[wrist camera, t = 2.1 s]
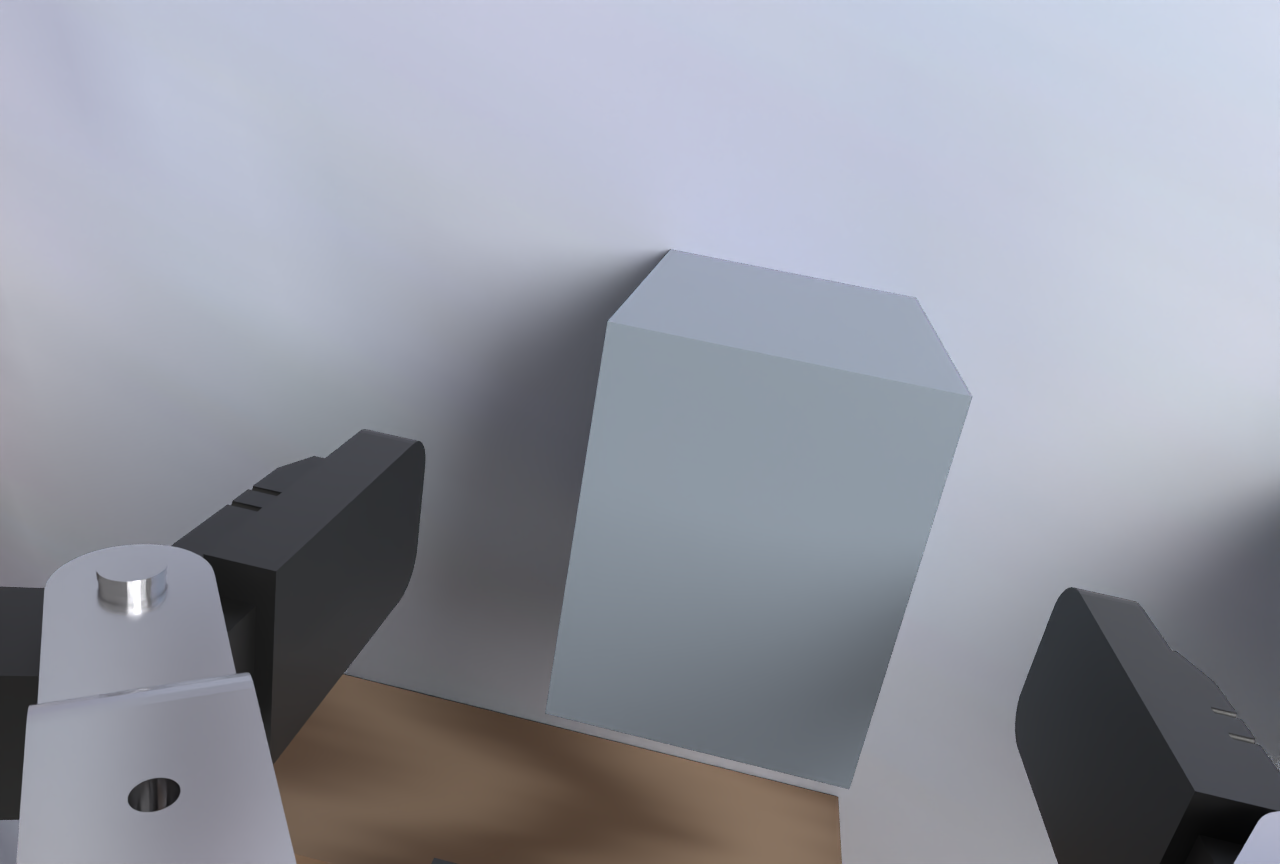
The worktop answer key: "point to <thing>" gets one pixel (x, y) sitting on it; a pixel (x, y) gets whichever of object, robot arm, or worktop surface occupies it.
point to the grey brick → (753, 512)
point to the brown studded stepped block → (522, 793)
